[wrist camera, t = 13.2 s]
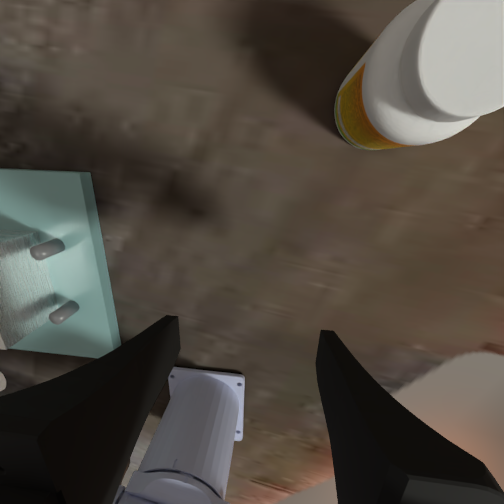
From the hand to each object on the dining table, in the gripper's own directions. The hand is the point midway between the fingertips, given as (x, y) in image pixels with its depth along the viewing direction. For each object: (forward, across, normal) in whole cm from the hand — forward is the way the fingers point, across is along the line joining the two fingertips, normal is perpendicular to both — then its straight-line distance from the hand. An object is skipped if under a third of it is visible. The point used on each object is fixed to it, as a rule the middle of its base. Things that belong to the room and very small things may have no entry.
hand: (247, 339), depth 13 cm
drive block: (+8, +21, +2) cm, 23 cm away
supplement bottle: (+10, -7, -12) cm, 17 cm away
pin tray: (+9, +21, +2) cm, 23 cm away
